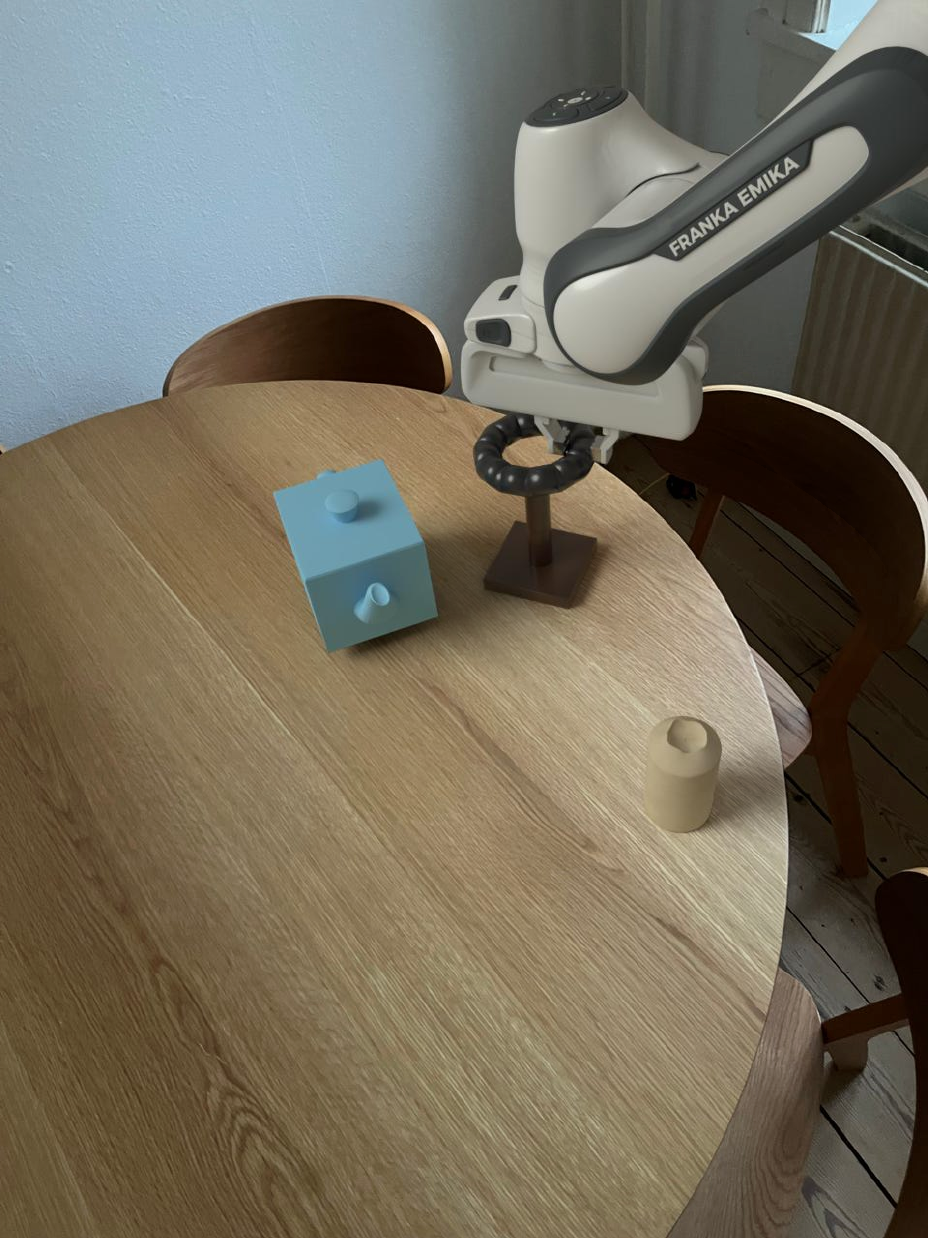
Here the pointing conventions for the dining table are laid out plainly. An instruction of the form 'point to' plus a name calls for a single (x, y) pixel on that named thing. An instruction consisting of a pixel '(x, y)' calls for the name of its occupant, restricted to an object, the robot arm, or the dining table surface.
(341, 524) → the teapot
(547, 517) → the stand
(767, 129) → the robot arm
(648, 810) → the candle
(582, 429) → the ring
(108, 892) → the dining table surface
